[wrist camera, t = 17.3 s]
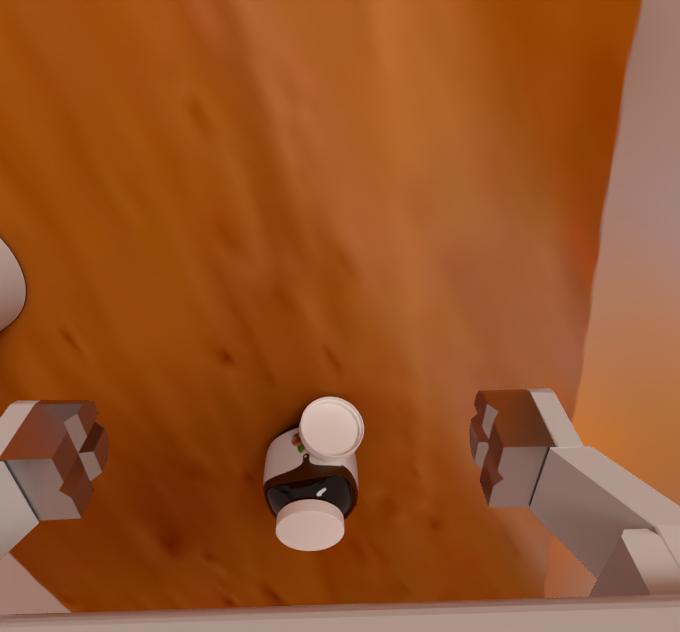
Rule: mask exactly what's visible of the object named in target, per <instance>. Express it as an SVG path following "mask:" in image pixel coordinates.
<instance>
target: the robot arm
mask: <svg viewBox="0 0 680 632" xmlns="http://www.w3.org/2000/svg"><path fill="white" fill-rule="evenodd" d="M25 296H26V287H25V281H24V277H23V273H22V271H21V268H20V266H19V264H18V262H17V260H16V258H15V257H14V255H13V253H12V252H11V251H10V249H9V248H8V247H7V245H6V244H5V243H4V242H3V241H2V240H1V238H0V331H1V330H2V329H4V328H5V327H6V326H8V325H9V324H10V323H12V322H13V321H14V320H15V319H16V318H17V316H18V315H19V314H20V312H21V310H22V308H23V306H24V302H25ZM474 405H475V408H476V411H477V415H476V416H474V417H473V418H472V419H471V425H470V447H471V452H472V456H473V459H474V463H476V464H477V465H478V466H479V467H480V468H481V469H482V472H481V476H480V482H481V486H482V489H483V492H484V495H485V498H486V502H487V505H488V507H530V508H529V510H530V511H531V512H532V513H533V514H534V515H535V516H536V517H537V518H538V519H539V520H540V521H541V522H542V523H543V524H544V525H545V526H546V527H547V528H548V529H549V530H550V531H551V532H552V533H553V534H554V535H555V536H556V537H557V538H558V539H559V540H560V542H562V543H563V544H564V546H565V547H566V548H567V549H568V550H570V552H571V553H572V554H573V555H574V556H575V557H576V558H577V559H578V560H579V561H580V562H581V563H582V564H583V565H584V566H585V567H586V568H587V569H588V570H589V571H590V572H591V573H592V574H593V576H594V577H595V578H596V579H597V582H596V583H595V585H594V587H593V589H592V591H591V593H590V595H589V597H566V598H533V599H500V600H467V601H435V602H403V603H370V604H338V605H306V606H273V607H241V608H209V609H177V610H144V611H111V612H78V613H46V614H12V615H0V632H680V507H679V506H678V505H676V504H675V503H673V502H672V501H670V500H669V499H668V498H666V497H665V496H663V495H661V494H660V493H659V492H657V491H656V490H654V489H653V488H651V487H650V486H649V485H647V484H646V483H644V482H643V481H641V480H640V479H638V478H637V477H635V476H634V475H632V474H631V473H629V472H628V471H627V470H625V469H624V468H622V467H621V466H619V465H618V464H616V463H615V462H613V461H612V460H611V459H609V458H608V457H606V456H605V455H603V454H602V453H600V452H599V451H597V450H596V449H594V448H593V447H584V445H583V443H582V442H581V440H580V438H579V436H578V435H577V433H576V431H575V429H574V428H573V426H572V424H571V422H570V420H569V418H568V416H567V415H566V413H565V411H564V409H563V407H562V406H561V404H560V402H559V400H558V398H557V397H556V395H555V393H554V391H552V390H551V389H550V388H542V389H525V390H524V389H519V390H488V391H478V393H477V395H476V399H475V403H474ZM98 414H99V413H98V410H97V408H96V406H95V404H94V402H92V401H89V400H41V401H16V402H14V403H12V404H10V405H9V407H8V408H7V409H6V411H5V412H4V414H3V415H2V416H1V418H0V559H1V558H2V557H3V556H5V554H7V553H8V552H9V551H10V550H11V549H12V548H13V547H14V546H15V545H16V544H17V543H18V542H19V541H20V540H21V539H22V538H24V537H25V536H26V535H27V534H28V533H29V532H30V531H31V530H32V529H33V528H34V527H35V526H36V525H37V524H38V523H39V521H40V520H58V519H77V518H82V516H83V513H84V511H85V509H86V507H87V505H88V502H89V500H90V498H91V496H92V493H93V491H94V489H93V486H92V484H91V480H93V479H94V478H95V477H96V476H98V475H99V474H100V473H101V472H102V471H103V468H104V466H105V463H106V461H107V456H108V449H109V444H108V436H107V433H106V431H105V428H104V427H102V426H101V425H100V424H98V423H97V422H95V420H96V418H97V416H98Z"/></svg>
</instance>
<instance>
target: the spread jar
mask: <svg viewBox="0 0 680 632" xmlns="http://www.w3.org/2000/svg"><path fill="white" fill-rule="evenodd" d="M363 434H364V424H363V420H362V418H361V415H360V414H359V412H358V410H357V409H356V408H355V407H354V406H353V405H352V404H350V403H349V402H347V401H345V400H343V399H341V398H338V397H323V398H319V399H317V400H314V401H313V402H312V403H310V404H309V405H308V406H307V407H306V409H305V410H304V412H303V414H302V418H301V421H300V423H299V424H296V425H294V426H292V427H290V428H288V429H286V430H285V431H283V432H282V433H281V434H279V435H278V436H277V437H276V438H275V439H274V440H273V441H272V443H271V444H270V446H269V449H268V451H267V455H266V460H265V468H264V477H263V490H264V496H265V500H266V503H267V506H268V508H269V510H270V512H271V513H272V515H273V516H274V517H275V519H276V520H277V521H276V535H277V537H278V539H279V540H280V541H281V542H282V543H283V544H285V545H287V546H288V547H291V548H293V549H297V550H303V551H316V550H322V549H326V548H329V547H331V546H333V545H335V544H336V543H337V542H339V541H340V539H341V538H342V537H343V534H344V520H345V519H346V518H347V517H348V516H349V515H350V514H351V513H352V511H353V509H354V508H355V506H356V503H357V498H358V474H357V462H356V457H355V450H356V449H357V448H358V446H359V444H360V443H361V440H362V438H363Z"/></svg>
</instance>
